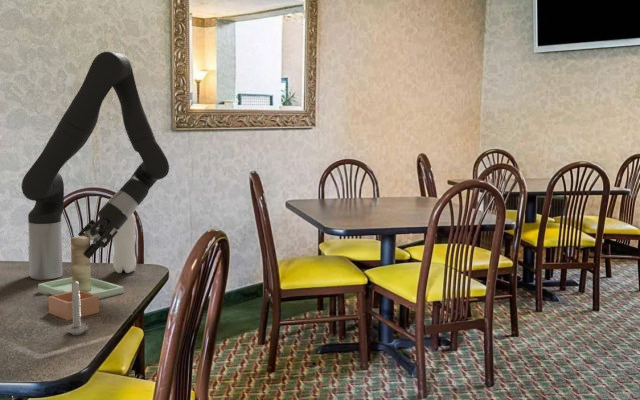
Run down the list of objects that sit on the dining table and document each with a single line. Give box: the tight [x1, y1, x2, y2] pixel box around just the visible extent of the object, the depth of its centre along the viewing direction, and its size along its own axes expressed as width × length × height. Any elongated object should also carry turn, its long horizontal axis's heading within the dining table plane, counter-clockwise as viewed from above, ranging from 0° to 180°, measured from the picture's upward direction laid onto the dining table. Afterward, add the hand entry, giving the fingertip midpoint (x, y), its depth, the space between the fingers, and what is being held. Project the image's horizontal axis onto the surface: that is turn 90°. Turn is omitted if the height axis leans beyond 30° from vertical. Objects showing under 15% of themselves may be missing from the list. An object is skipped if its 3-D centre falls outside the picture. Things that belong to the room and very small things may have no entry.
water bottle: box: [112, 213, 137, 274], centre depth 204 cm, size 7×7×25 cm
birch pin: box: [70, 236, 92, 292], centre depth 178 cm, size 5×5×15 cm
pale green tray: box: [37, 276, 125, 300], centre depth 178 cm, size 20×14×2 cm
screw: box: [64, 281, 89, 336], centre depth 144 cm, size 13×5×5 cm
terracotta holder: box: [47, 290, 100, 321], centre depth 159 cm, size 9×9×5 cm
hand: (79, 253), depth 177 cm, fingers open, 8 cm apart
